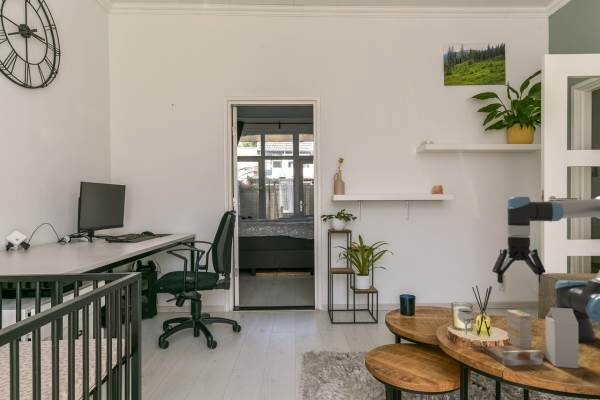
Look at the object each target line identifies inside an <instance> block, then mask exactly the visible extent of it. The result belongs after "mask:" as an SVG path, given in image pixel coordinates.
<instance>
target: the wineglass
mask: <svg viewBox="0 0 600 400" xmlns="http://www.w3.org/2000/svg"><path fill="white" fill-rule="evenodd" d="M475 312H476V310H475V309H471V308H463V307H462V308H461V307H459V308H457V313H456V314H457V315H456V317H457V319H458V320H459V321H460V322H461V323H462V324H463V325H464V329H465V336H466V335H467V336H468V325H469V324H471V323H473V322H475V319H476V314H475Z"/></svg>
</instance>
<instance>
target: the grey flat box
mask: <svg viewBox="0 0 600 400" xmlns="http://www.w3.org/2000/svg"><path fill="white" fill-rule="evenodd" d="M482 351H483V353H485V354H486V355H487V356H489V357H490V358H492V359H494V361H496V362H498V363H500V364H501V365H503V366H504V367H505V366H507V367H508V366H509V367H511V366H533V365H534V366H536V365H537V366H538V365H544V351H543V350H542V349H532V350H526V349H525V348H523V347H521V346H519V345H515V346H512V345H488V346H487V345H486V346H485V345H484V346H483V350H482Z"/></svg>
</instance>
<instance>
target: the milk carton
mask: <svg viewBox="0 0 600 400" xmlns="http://www.w3.org/2000/svg"><path fill="white" fill-rule="evenodd" d="M545 359H546V360H547V361H548V362H549V363H550V364H552V365H553V366H554V367H556V368H557V367H558V368H571V369H579V341H578V322H577V320H576V317H575V315H574V313H573V309H566V308H556V307H549V311H548V312H547V314H546V315H545Z"/></svg>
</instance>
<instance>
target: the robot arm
mask: <svg viewBox="0 0 600 400" xmlns="http://www.w3.org/2000/svg"><path fill="white" fill-rule="evenodd" d="M506 208H507V235H508V237H507V247H508V248H507V249H506V248H500V251H499V255H498V257H497V260H496V261H495V263H494V265H493V268H492V270H491V271H492V273H495V274H496V277H497V281H496V282H497V283H498V285H499V286H498V287H499V288H498V291H499V292H501V293H506V275H505V273H506V271H507V270H508V269H509V268H510V266H511V265H512V264H513V263H514V262H515V261H516V262H518V261H523V262H525V264H526V265H527V266H528V267H529V268H530V270H531V271H532V273H531V290H532V291H533V292H536V293H538V292H540V289H539V288H540V285H539V283H541V276H542V275H543V274H545V273H546V269H545V267H544V265H543V263H542V260H541V259H540V256H539V252H538V248H537V249H536V248H530V247H531V237H530V236H531V222H551V223H552V222H559V221H561V220H562V219H579V218H596V219H599V220H600V195H599V196H596V197H595V198H591V199H590V198H587V199H570V200H569V199H568V200H567V199H565V200H564V199H563V200H549V201H548V200H547V201H546V200H545V201H531V198H530V197H529V196H510V197H509V198H508V200H507V207H506ZM529 255H530V256H529ZM532 260H533V261H532ZM554 290H555V308H566V309H573V313H574V315H575V317H576V320H577V322H578V342H584V343H585V342H586V343H587V342H593V341H596V332H595V331H594V327H593V324H592V322H591V320H592V321H595V322H598V323H600V269H599V270H598V272H597V275H596V276H595V277H594V278H592V279H589V280H588V281H585V280H570V279H569V280H568V279H566V280H565V279H564V280H563V279H562V280H557V281H556V282H555V287H554Z"/></svg>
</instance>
